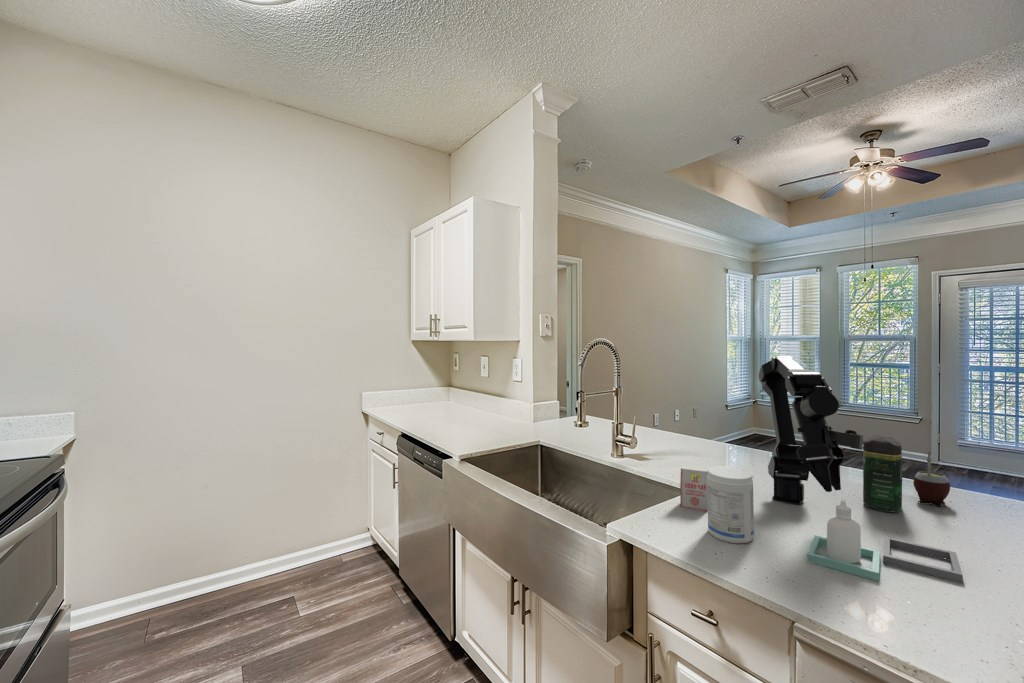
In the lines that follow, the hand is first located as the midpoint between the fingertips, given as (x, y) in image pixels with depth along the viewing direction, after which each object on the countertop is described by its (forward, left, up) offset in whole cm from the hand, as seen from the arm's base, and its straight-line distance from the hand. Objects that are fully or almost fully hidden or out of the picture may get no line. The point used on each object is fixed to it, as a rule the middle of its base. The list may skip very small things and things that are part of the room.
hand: (833, 490), depth 97 cm
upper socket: (+14, -3, -10) cm, 18 cm away
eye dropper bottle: (+2, -12, -11) cm, 16 cm away
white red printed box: (-30, -3, -11) cm, 32 cm away
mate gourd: (+18, +40, -11) cm, 45 cm away
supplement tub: (-18, -15, -11) cm, 26 cm away
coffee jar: (+8, +29, -11) cm, 32 cm away
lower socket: (+3, -12, -10) cm, 16 cm away
